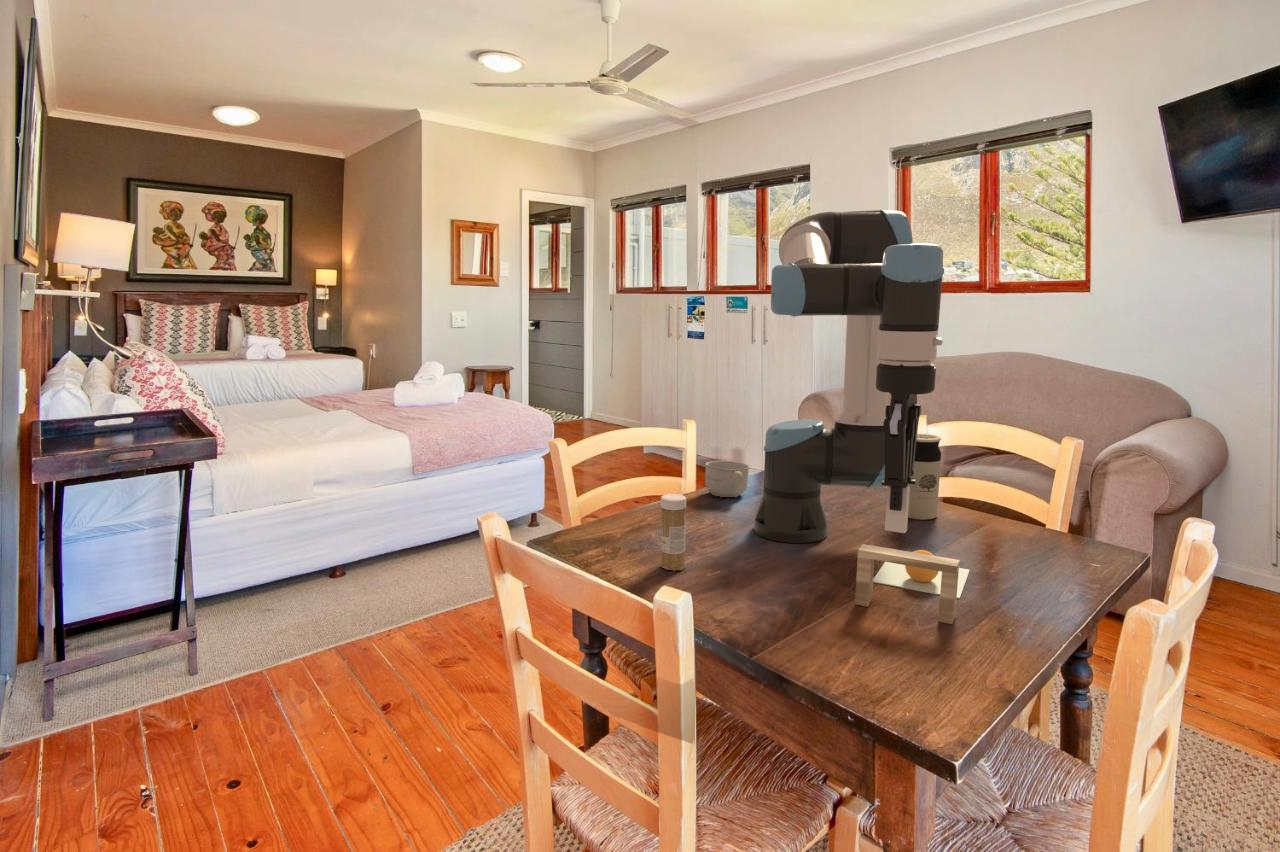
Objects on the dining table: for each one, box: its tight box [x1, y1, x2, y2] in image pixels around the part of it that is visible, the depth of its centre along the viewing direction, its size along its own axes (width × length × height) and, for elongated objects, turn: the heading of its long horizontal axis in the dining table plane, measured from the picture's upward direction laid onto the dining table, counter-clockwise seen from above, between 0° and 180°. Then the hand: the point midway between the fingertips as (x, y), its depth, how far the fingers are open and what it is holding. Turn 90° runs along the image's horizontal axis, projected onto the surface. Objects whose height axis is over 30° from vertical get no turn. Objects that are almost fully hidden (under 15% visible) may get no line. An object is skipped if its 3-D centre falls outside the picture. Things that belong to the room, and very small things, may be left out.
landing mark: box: [873, 562, 971, 600], centre depth 127 cm, size 14×14×1 cm
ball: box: [905, 549, 939, 582], centre depth 125 cm, size 6×6×6 cm
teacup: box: [704, 460, 750, 498], centre depth 177 cm, size 14×11×8 cm
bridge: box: [854, 543, 960, 625], centre depth 113 cm, size 3×14×9 cm, turn 59°
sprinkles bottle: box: [660, 493, 687, 572], centre depth 131 cm, size 5×5×13 cm
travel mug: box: [908, 433, 942, 521], centre depth 161 cm, size 8×8×18 cm
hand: (895, 530), depth 102 cm, fingers closed
